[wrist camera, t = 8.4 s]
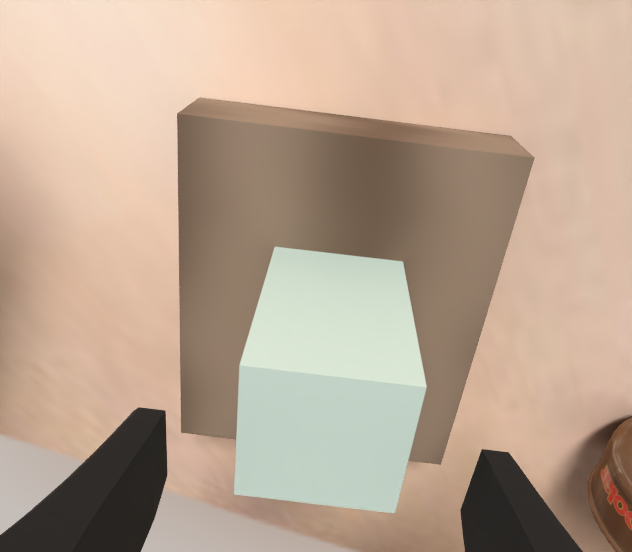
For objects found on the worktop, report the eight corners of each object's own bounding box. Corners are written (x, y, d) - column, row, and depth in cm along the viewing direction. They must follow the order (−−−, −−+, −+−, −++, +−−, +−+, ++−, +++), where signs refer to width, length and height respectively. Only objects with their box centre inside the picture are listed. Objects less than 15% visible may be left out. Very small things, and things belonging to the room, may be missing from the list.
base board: (197, 389, 23) (181, 432, 21) (199, 97, 17) (177, 113, 15) (432, 418, 23) (440, 464, 21) (510, 136, 17) (534, 157, 15)
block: (267, 351, 19) (233, 494, 13) (274, 246, 17) (239, 364, 11) (382, 364, 19) (394, 513, 13) (402, 261, 17) (426, 387, 11)
